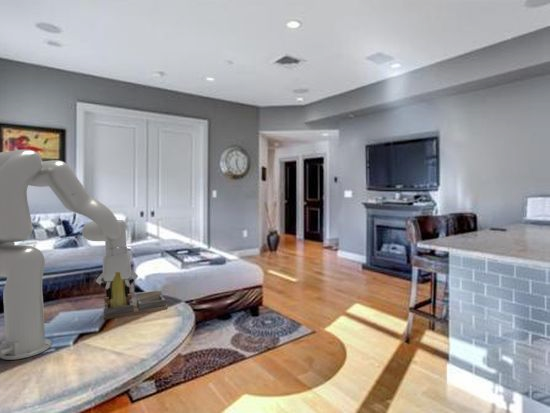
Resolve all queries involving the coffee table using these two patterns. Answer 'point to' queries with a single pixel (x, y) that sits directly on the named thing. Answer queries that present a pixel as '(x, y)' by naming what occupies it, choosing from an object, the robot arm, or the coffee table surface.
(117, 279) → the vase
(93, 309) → the coffee table surface
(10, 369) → the coffee table surface
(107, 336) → the coffee table surface
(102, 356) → the coffee table surface
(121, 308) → the socket board
